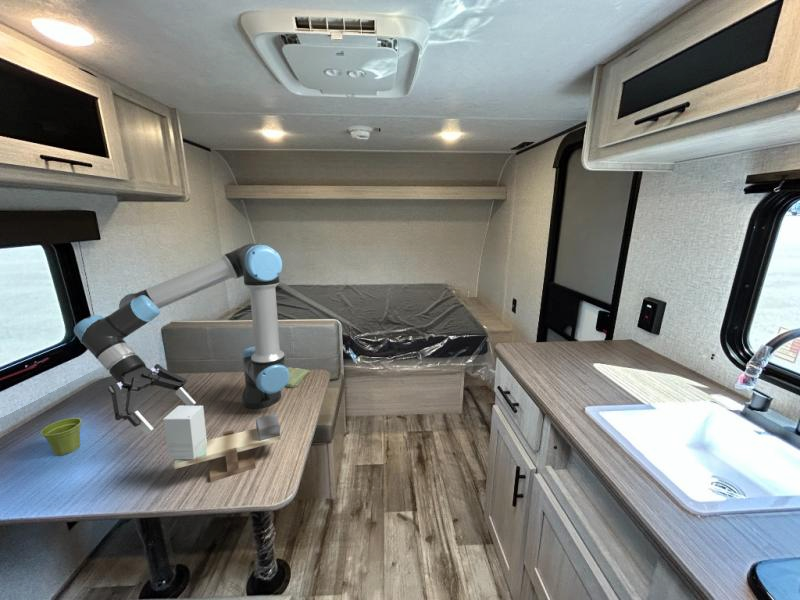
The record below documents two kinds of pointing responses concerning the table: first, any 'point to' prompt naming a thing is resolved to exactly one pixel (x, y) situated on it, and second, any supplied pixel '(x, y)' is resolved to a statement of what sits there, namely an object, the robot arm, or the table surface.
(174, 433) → the supplement box
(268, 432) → the seesaw beam
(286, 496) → the table surface
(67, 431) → the plant pot
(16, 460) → the table surface
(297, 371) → the washcloth
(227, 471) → the fulcrum stand
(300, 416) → the table surface
